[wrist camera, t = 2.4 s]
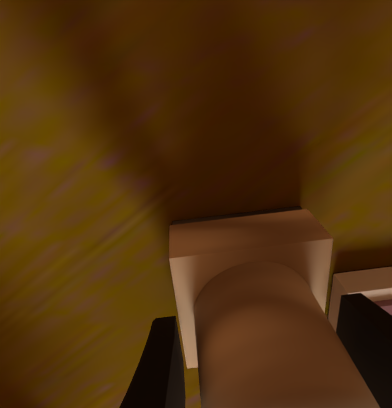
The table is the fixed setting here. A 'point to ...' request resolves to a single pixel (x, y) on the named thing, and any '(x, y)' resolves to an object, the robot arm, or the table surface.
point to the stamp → (261, 312)
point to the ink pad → (361, 289)
